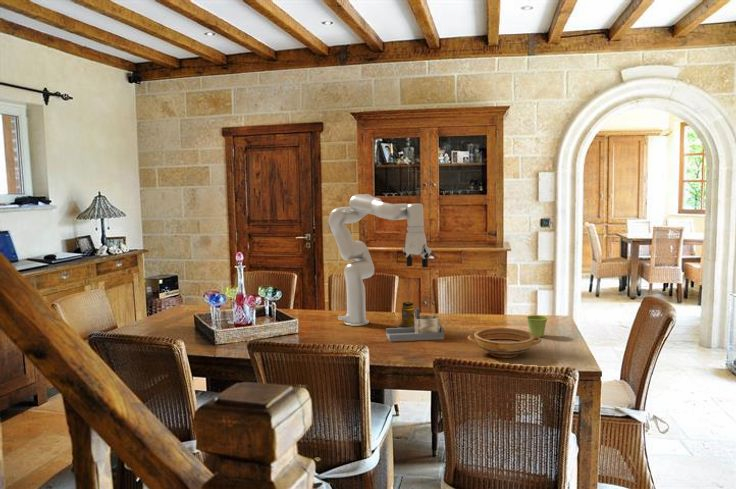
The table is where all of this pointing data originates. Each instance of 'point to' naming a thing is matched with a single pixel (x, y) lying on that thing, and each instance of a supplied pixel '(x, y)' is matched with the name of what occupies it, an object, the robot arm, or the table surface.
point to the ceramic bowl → (504, 341)
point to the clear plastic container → (426, 323)
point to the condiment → (407, 315)
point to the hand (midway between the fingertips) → (417, 266)
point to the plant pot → (537, 325)
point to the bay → (412, 334)
